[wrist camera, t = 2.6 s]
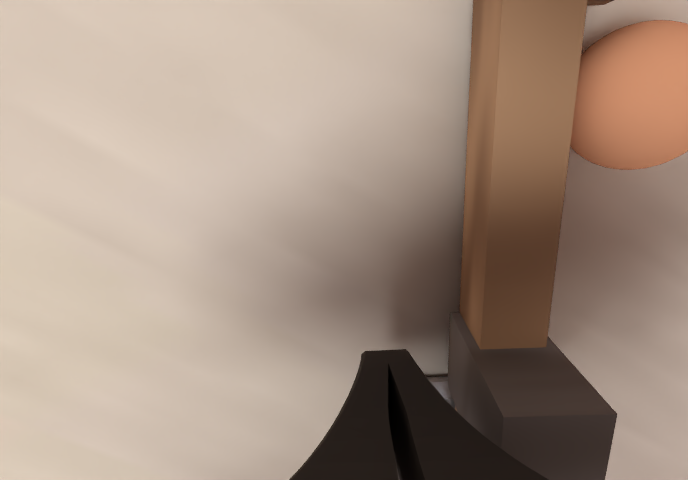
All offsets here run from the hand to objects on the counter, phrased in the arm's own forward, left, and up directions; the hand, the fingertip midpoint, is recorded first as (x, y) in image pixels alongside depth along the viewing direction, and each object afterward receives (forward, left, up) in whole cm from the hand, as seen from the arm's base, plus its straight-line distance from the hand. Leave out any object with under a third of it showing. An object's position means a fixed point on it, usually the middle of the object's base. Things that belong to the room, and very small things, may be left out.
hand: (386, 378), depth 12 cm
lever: (+4, -4, -2) cm, 6 cm away
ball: (+8, -6, -1) cm, 10 cm away
